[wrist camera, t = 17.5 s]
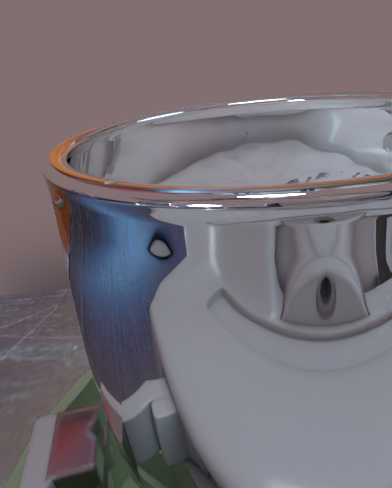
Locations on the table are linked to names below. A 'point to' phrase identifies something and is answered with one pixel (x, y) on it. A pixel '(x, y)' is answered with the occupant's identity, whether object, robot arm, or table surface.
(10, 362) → the table surface
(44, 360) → the table surface
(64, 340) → the table surface
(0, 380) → the table surface
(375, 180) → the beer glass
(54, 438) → the robot arm
